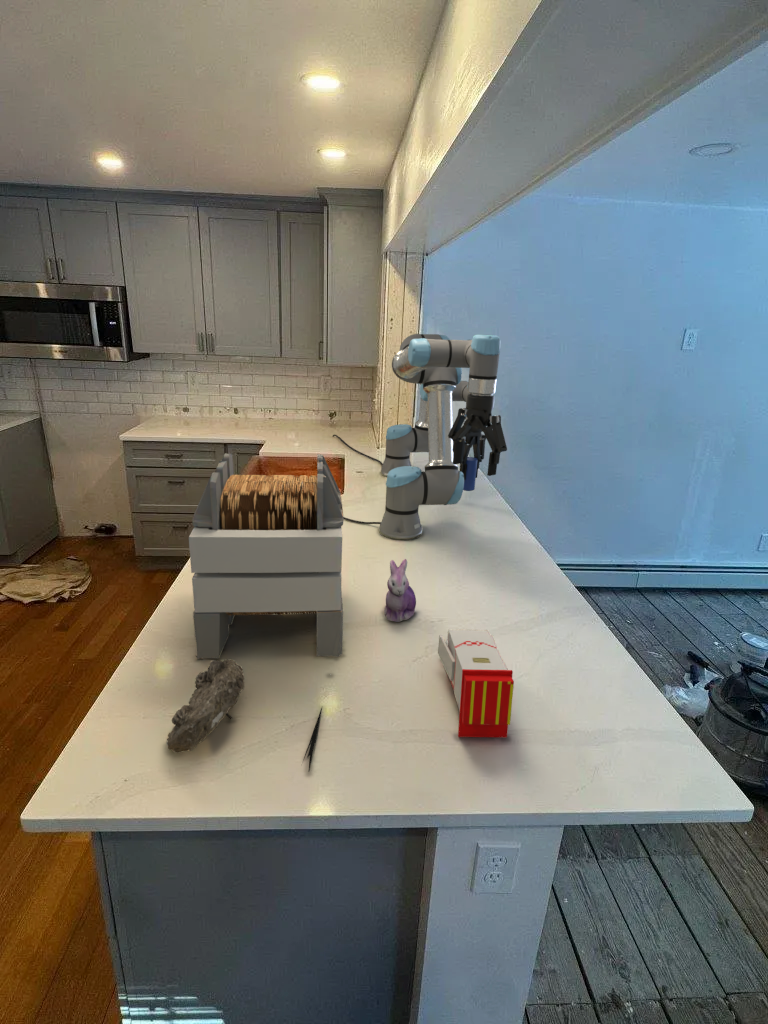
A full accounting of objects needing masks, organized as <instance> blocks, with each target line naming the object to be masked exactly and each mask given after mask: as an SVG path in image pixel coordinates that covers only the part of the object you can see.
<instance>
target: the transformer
mask: <svg viewBox="0 0 768 1024" xmlns="http://www.w3.org/2000/svg"><path fill="white" fill-rule="evenodd" d="M316 457H317V458H316V463H317V465H316V466H317V467H316V475H309V476H308V475H304V474H303V475H302V474H301V475H298V476H295V475H293V474H272V475H265V474H242V475H241V474H235V472H234V458H233V453H227V452H225V453H224V454H223V456H222V458H221V460H219V461H218V464H217V466H216V468H215V469H214V470H215V471H214V472H211V475H210V477H209V479H208V481H207V484H206V486H205V488H204V489H203V493H202V494H201V496H200V499H199V502H198V504H197V507H196V509H195V510H194V513H193V516H192V518H191V520H192V526H193V528H192V530H191V532H190V534H189V536H188V547H189V558H190V559H189V560H190V572H191V574H193V575H192V577H191V584H192V585H191V586H192V597H193V609H194V610H193V612H192V614H193V615H192V617H193V618H192V619H193V629H194V640H195V648H196V655H195V657H196V659H197V660H203V659H220V657H221V654H222V652H223V649H224V648H225V645H226V643H227V640H228V638H229V636H230V626H232V625H233V621H234V618H235V616H250V615H251V616H253V615H254V616H256V615H257V616H260V615H263V616H265V615H267V616H269V615H275V616H276V615H277V616H278V615H305V614H306V615H308V614H309V615H311V614H313V615H316V657H335V658H337V657H340V656H342V655H343V647H344V646H343V644H344V643H343V642H344V641H343V640H344V639H343V638H344V608H343V607H344V606H343V605H344V604H343V595H342V579H343V577H342V567H343V566H342V565H343V564H342V562H343V530H342V529H343V528H342V527H343V525H344V520H345V519H344V517H345V516H344V510H343V500H342V494H341V493H342V492H341V491H340V488H339V486H338V484H337V482H336V480H335V477H334V475H333V474H332V471H331V469H330V466H329V465H328V462H327V461H326V458H325V456H324V454H320V453H317V455H316Z"/></svg>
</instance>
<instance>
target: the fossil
mask: <svg viewBox="0 0 768 1024" xmlns="http://www.w3.org/2000/svg"><path fill="white" fill-rule="evenodd" d="M243 670H244V669H243V667H242V665H240V664H237V662H236V661H235V660H234V659H232V658H231V659H227V658H226V659H224V660H223V661H222V660H217V659H212V660H211V661H210V663H209V665H208V666H207V671H201V672H199V673H198V674H197V675H196V676H195V680H194V684H195V685H194V687H195V689H194V690H193V693H192V694H191V697H190V698H189V700H188V704H184V705H182V706H181V707H180V709H177V710H176V711H175V713H174V715H173V716H172V718H171V723H172V724H173V727H172V730H171V731H170V732H168V734H167V738H166V741H167V742H166V745H167V749H168V750H169V751H173V752H174V753H176V754H178V753H182V752H188V751H189V752H192V751H193V750H195V748H196V747H197V746H199V744H200V743H201V742H203V741H204V740H205V739H206V738H207V737H208V736H209V735H210V734H211V733H212V732H214V730H215V729H217V727H218V726H219V724H220V722H221V721H222V720H223V719H224V718H225V716H226V717H227V719H229V720H233V717H232V715H230V714H229V710H230V709H231V708H234V706H235V704H236V703H237V702H238V699H239V697H240V695H241V693H242V691H243V690H245V689H244V688H245V675H244V671H243Z"/></svg>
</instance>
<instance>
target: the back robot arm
mask: <svg viewBox="0 0 768 1024" xmlns="http://www.w3.org/2000/svg"><path fill="white" fill-rule="evenodd" d="M420 338H425V339H439V340H451V339H450V337H448V336H447V335H446V334H438V333H437V334H436V333H413V334H410V335H408V336H407V337H405V339H403V341H402V342H401V344H400V346H399V351H401V350H404V349H409V344H410V341H411V340H412V339H420ZM419 385H420V387H419V395H420V400H419V411H418V420H417V421H415V422H414V427H412V425H410V424H407V423H406V424H405V423H400V424H399V423H398V424H393V425H391V426H389V427H388V428H387V429H386V434H385V457H384V460H383V462H382V461H380V460H379V459H378V458H375V457H372V456H370V455H367V454H365V453H363V452H361V451H359V450H358V449H356V448H353V446H351V445H349V444H348V443H346V442H345V441H344V440H343V438H341V437H340V436H339V435H337V434H332V438H334V437H336V438H337V439H339V440H340V441H341V442H342V443H343V444H344V445H345V446H347V447H348V448H349V449H351V450H352V451H354V452H356V453H358V454H360V455H361V456H363V457H366V458H369V459H370V460H373V461H376V462H378V463H379V464H380V465H381V467H380V475H382V476H384V477H386V478H387V474H388V473H389V471H390V470H392V469H394V468H397V467H402V466H412V463H411V460H410V459H411V457H410V456H411V453H412V454H413V453H429V440H428V394H427V393H426V392H425V391H424V390H423V384H419ZM467 390H468V381H467V380H461V381H460V383H459V384H457V385H456V389H455V391H454V392H453V393H452V402H464V403H466V402H467V395H468V394H469V392H468V391H467ZM465 408H467V407H466V406H465ZM467 409H468V408H467ZM467 419H468V418H467V416H466V418H465V420H464V422H465V421H466V420H467ZM464 422H463V423H464ZM486 440H487V439H486V436H485V434H484V433H483V432H482V431H481V429H477V428H476V427H474V428H473V427H471V429H470V430H469V431H468V432H467V433H466V434H465V436H464V437H463V438H462V439H461V441H462V442H463V445H462V456H461V463H460V464H459V471H460V472H462V473H463V475H464V476H463V477H464V480H466V471H467V464H466V461H467V458H468V457H469V454H470V450H471V448H472V452H473V453H472V454H473V457H474V458H477V459H478V461H477V470H476V479H477V478H478V474H479V469H480V463H482V462H483V460H484V459H485V453H486V452H485V451H486Z"/></svg>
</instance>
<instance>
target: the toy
mask: <svg viewBox="0 0 768 1024" xmlns="http://www.w3.org/2000/svg"><path fill="white" fill-rule="evenodd" d="M446 640H447V643H446V641H445V639H444V636H443V635H442V634H439V637H438V646H437V656H438V657H439V659H440V661H441V663H442V666H443V668H444V670H445V672H446V674H447V677H448V679H449V681H450V684H451V687H452V690H453V693H454V697H455V701H456V705H457V708H458V711H459V714H458V715H459V716H458V730H457V731H458V732H457V737H458V738H508V731H509V726H510V725H511V717H512V707H513V697H514V696H513V695H514V684H515V680H514V679H513V673H514V671H513V670H512V669H508V667H507V665H506V662H505V661H504V659H503V658H502V655H501V653H500V651H499V649H498V647H497V643H496V639H495V637H494V635H493V634H491V632H490V631H489V629H467V628H466V629H465V628H463V629H461V628H460V629H459V628H448V630H447V639H446Z"/></svg>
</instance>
